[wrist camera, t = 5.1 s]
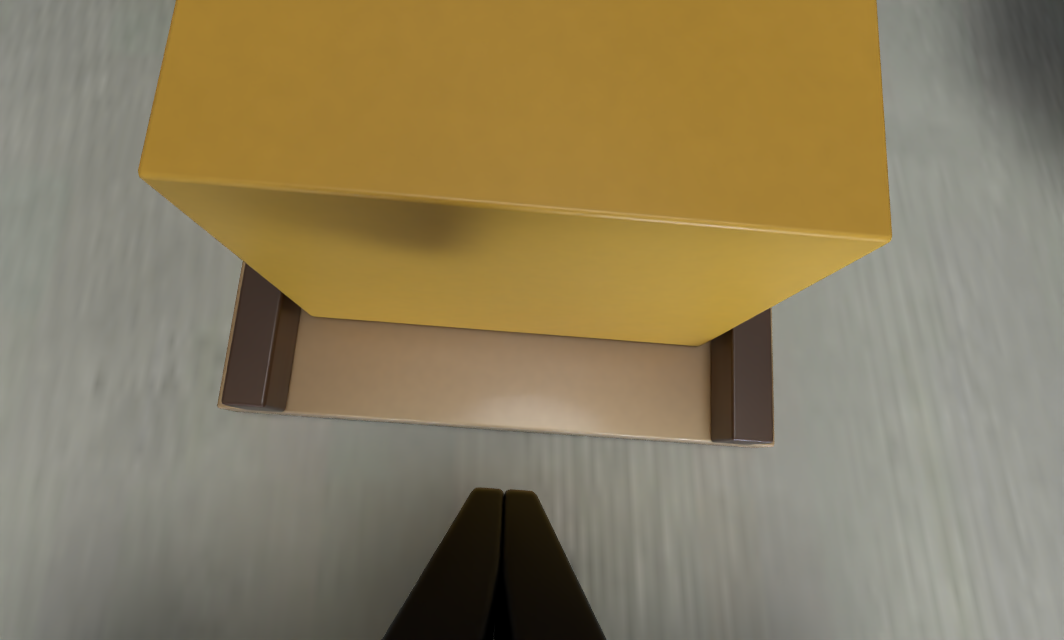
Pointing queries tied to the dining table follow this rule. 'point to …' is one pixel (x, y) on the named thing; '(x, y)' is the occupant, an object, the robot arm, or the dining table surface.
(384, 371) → the maple track
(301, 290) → the ochre block
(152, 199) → the dining table surface
